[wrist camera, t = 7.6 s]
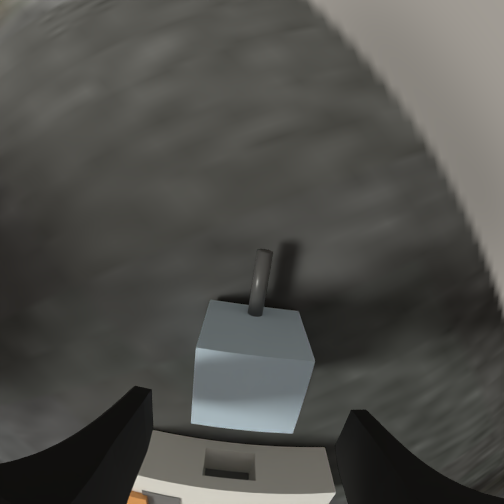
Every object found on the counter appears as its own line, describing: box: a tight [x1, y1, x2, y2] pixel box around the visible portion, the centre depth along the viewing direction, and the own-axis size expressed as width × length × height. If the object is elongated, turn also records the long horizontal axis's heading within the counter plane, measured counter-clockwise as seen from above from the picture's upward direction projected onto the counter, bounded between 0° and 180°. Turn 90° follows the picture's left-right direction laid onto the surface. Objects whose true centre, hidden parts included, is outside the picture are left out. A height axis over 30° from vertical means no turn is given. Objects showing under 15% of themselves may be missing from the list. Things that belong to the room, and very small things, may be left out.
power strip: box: [127, 430, 336, 504], centre depth 17 cm, size 6×18×5 cm, turn 82°
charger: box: [191, 249, 315, 433], centre depth 14 cm, size 9×4×5 cm, turn 172°
